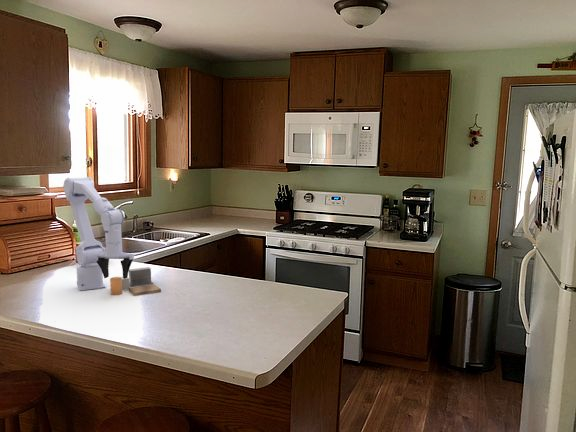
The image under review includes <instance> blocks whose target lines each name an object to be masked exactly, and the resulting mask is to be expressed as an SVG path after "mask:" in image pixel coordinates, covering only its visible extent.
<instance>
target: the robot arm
mask: <svg viewBox="0 0 576 432" xmlns="http://www.w3.org/2000/svg"><path fill="white" fill-rule="evenodd" d="M63 192H64V195H65V198H66V201H67V202H69V205H70V208H71V211H72V215H73V218H74V221H75V225H76V229H77V232H78V236H79V239H80V243H79V244H78V246H76V247H77V248H76V253H77V261H78V263H77V264H79V266H77V267H76V286H77V288H78V290H79V291H86V290H87V291H89V290H93V289H94V290H95V289H102V288H106V284H105V283H104V281H103V280H104V279H107V278H109V274H110V273H109V263H110V260H114V259H115V260H120V264H121V269H122V277H123V279H125V278H127V277H128V278H129V269H131V264H132V263H133V261H134V259H135V253H130V252H123V237H122V235H123V234H122V225H123V224H124V222H125V214H124V213H123V211H122V209H120V208H115V207H114V206H113V205H112V203H111V202H110V201H109V200H108V199H107V197H101V195H100V194H99V192H98V191H97V189H96V188H95V181H94V180H93V178H92V177H90V176H87V177H66V178H65V180H64V181H63ZM87 200H89V201H91V202H92V203H93V204H92V207H93V210H95V212H96V213H97V214H98V215H99V216H100V220H101V221H100V222H101V224H102V228H103V229H102V230H103V231H104V235H105V237H104V238H105V248H106V251H105V249H104V248H103V247H104V246H103V243H102V242H101V241H99V240H97V239H96V238H95V234H94V231H93V228H92V225H91V222H90V218H89V214H88V211H87V208H86V207H87V206H86V203H85V202H86V201H87Z"/></svg>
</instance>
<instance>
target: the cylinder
mask: <svg viewBox="0 0 576 432" xmlns="http://www.w3.org/2000/svg"><path fill="white" fill-rule="evenodd" d="M121 277H122V276H113V277H110V278H109V283H110V285H109V286H110V295H111V296H119V295H122V294H123V290H122V279H121Z"/></svg>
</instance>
